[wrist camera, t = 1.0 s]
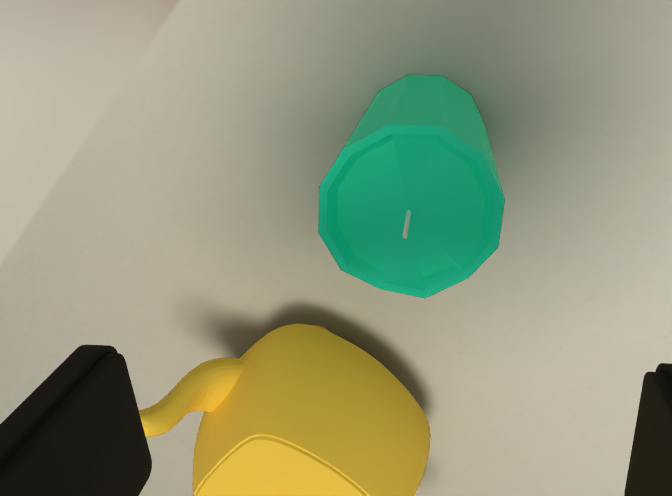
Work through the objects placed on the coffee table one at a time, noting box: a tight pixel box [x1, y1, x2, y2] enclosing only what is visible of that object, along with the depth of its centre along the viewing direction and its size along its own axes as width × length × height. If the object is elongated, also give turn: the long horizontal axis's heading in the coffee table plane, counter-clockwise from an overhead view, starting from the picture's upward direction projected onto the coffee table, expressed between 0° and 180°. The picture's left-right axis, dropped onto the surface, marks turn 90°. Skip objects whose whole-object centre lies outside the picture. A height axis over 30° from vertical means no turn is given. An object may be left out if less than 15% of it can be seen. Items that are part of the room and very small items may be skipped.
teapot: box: [139, 324, 431, 496], centre depth 30 cm, size 18×11×11 cm, turn 53°
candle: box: [318, 75, 505, 298], centre depth 22 cm, size 6×6×12 cm
